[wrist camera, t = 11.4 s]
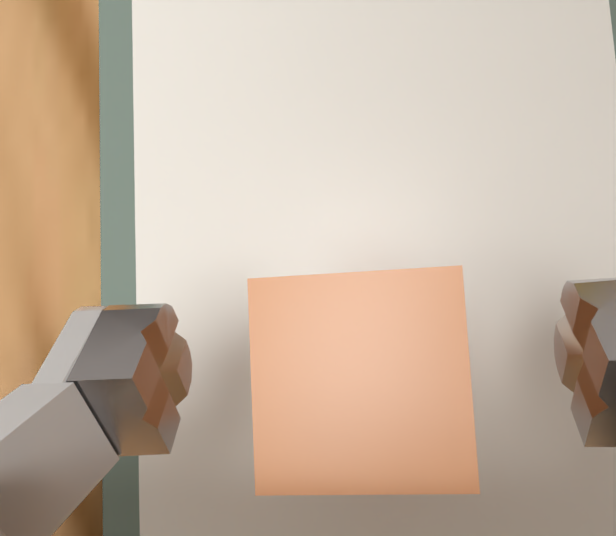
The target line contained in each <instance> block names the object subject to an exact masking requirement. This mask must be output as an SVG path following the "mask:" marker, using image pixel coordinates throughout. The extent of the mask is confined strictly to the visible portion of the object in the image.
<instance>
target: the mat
mask: <svg viewBox="0 0 616 536" xmlns="http://www.w3.org/2000/svg"><path fill="white" fill-rule="evenodd" d="M609 6H610V15H611V24H612V33H613V41H614V50H615V59H616V0H609ZM99 87H100V217H101V306H109V305H131V304H136V247H135V178H134V110H133V42H132V0H99ZM118 457H119V461H118V462H117V463H116V464H115V465H114V466H113V467H112V468H111V470H110V471H109V472H108V473H107V474H106V475H105V476H104V477H103V536H140V519H139V455H138V456H118Z"/></svg>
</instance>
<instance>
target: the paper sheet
mask: <svg viewBox="0 0 616 536" xmlns="http://www.w3.org/2000/svg"><path fill="white" fill-rule="evenodd" d="M132 42H133V110H134V178H135V247H136V304H162V303H166V304H169V305H171V306H172V307H173V309H174V311H175V313H176V316H177V318H178V320H179V321H178V324H177V327H176V330H175V332H176V333H177V334H179V335H180V336H181V337H183V338H184V339H185V340H186V341H187V344H188V346H189V349H190V353H191V359H192V380H191V384H190V388H189V392H188V396H186V397H185V398H184V399H183V400H182V401H181V402H180V403H179V404H178V405H177V406H176V408H177V411H178V413H179V415H180V417H181V420H180V423H179V426H178V430H177V433H176V436H175V440H174V443H173V446H172V450H171V453H170V454H160V455H139V519H140V536H616V447H584V445H583V442H582V439H581V436H580V433H579V431H578V428H577V425H576V422H575V420H574V417H573V414H572V411H571V408H570V407H571V403H572V398H573V394H574V393H573V392H572V391H571V390H570V389H568V388H567V387H566V386H564V385H563V384H562V383H561V380H560V377H559V374H558V371H557V366H556V362H555V357H554V333H555V326H556V322H557V321H559V320H560V319H561V318H562V317H563V316H564V315H565V312H564V310H563V307H562V305H561V302H560V299H561V294H562V289H563V287H564V285H565V283H566V281H570V280H585V279H601V278H616V59H615V50H614V41H613V33H612V24H611V15H610V6H609V0H132Z"/></svg>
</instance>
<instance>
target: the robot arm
mask: <svg viewBox="0 0 616 536" xmlns="http://www.w3.org/2000/svg"><path fill="white" fill-rule="evenodd" d="M560 302H561V305H562V307H563V310H564V312H565V315H564V316H563V317H562V318H561V319H560V320H559V321H557V322H556V326H555V333H554V357H555V362H556V366H557V371H558V374H559V377H560V380H561V383H562V384H563V385H564V386H566V387H567V388H568V389H570V390H571V391H572V392H573V393H574V394H573V398H572V403H571V407H570V408H571V411H572V414H573V417H574V420H575V422H576V425H577V428H578V431H579V433H580V436H581V439H582V442H583V445H584V447H616V278H601V279H585V280H570V281H566V283H565V285H564V287H563V289H562V294H561V299H560ZM178 321H179V320H178V318H177V316H176V313H175V311H174V309H173V307H172V306H171V305H169V304H166V303H162V304H131V305H109V306H87V307H79V308H78V309H76V310H75V311H73V312H72V314H71V315H70V317H69V319H68V321H67V322H66V324H65V326H64V328H63V329H62V331H61V333H60V335H59V336H58V338H57V340H56V342H55V343H54V345H53V347H52V349H51V350H50V352H49V354H48V355H47V357H46V359H45V361H44V362H43V364H42V366H41V368H40V369H39V371H38V373H37V375H36V376H35V378H34V380H33V382H32V383H31V384H22V385H20V386H19V387H18V388H16V389H15V390H14V391H12V392H11V393H9V394H8V395H7V396H5V397H4V398H3V399H1V400H0V536H52V535H53V533H54V532H55V531H56V530H57V529H58V528H59V527H60V526H61V524H62V523H63V522H64V521H65V520H66V519H67V518H68V517H69V516H70V514H71V513H72V512H73V511H74V510H75V509H76V508H77V507H78V505H79V504H80V503H81V502H82V501H83V500H84V499H85V498H86V496H87V495H88V494H89V493H90V492H91V491H92V490H93V489H94V488H95V486H96V485H97V484H98V483H99V482H100V481H101V480H102V479H103V477H104V476H105V475H106V474H107V473H108V472H109V471H110V470H111V468H112V467H113V466H114V465H115V464H116V463H117V462H118V461H119V457H118V456H138V455H160V454H170V453H171V450H172V446H173V443H174V440H175V436H176V433H177V430H178V426H179V423H180V420H181V417H180V415H179V413H178V411H177V408H176V406H177V405H178V404H179V403H180V402H181V401H182V400H183V399H184V398H185V397H186V396H188V392H189V388H190V384H191V380H192V359H191V353H190V349H189V346H188V344H187V341H186V340H185V339H184V338H183V337H181V336H180V335H179V334H177V333H176V332H175V330H176V327H177V324H178Z"/></svg>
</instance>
